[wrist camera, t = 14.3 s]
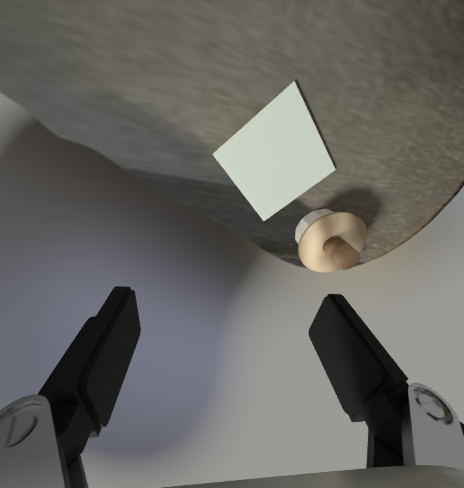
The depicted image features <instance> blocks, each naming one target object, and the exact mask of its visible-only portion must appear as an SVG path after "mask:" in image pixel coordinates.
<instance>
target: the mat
mask: <svg viewBox="0 0 464 488" xmlns="http://www.w3.org/2000/svg"><path fill="white" fill-rule="evenodd" d="M213 156H214V157H215V158H216V159H217V161H218V162H219V163H220V165H221V166H222V167H223V169H224V170H225V171H226V172H227V174H228V175H229V176H230V178H231V179H232V180H233V182H234V183H235V184H236V186H237V187H238V188H239V189H240V191H241V192H242V193H243V195H244V196H245V197H246V199H247V200H248V201H249V203H250V204H251V205H252V206H253V208H254V209H255V210H256V212H257V213H258V214H259V216H260V217H261V218H262V220H263V221H265V220H266V219H268V218H269V217H271V216H272V215H273V214H275V213H276V212H277V211H279V210H280V209H282V208H283V207H284V206H286V205H287V204H289V203H290V202H291V201H293V200H294V199H296V198H297V197H298V196H300V195H301V194H303V193H304V192H305V191H307V190H308V189H309V188H311V187H312V186H314V185H315V184H316V183H318V182H319V181H321V180H322V179H323V178H325V177H326V176H328V175H329V174H330V173H332V172H333V171H335V167H334V165H333V163H332V161H331V159H330V157H329V154H328V152H327V150H326V148H325V146H324V144H323V142H322V139H321V137H320V135H319V133H318V131H317V129H316V126H315V124H314V122H313V120H312V118H311V116H310V114H309V111H308V109H307V107H306V105H305V103H304V101H303V98H302V96H301V94H300V92H299V90H298V88H297V86H296V83H295V81H294V82H292V83H291V84H290V85H289V86H288V87H287V88H286V89H285V90H284V91H282V92H281V93H280V94H279V95H278V96H277V97H276V98H275V99H273V100H272V101H271V102H270V103H269V104H268V105H267V106H266V107H264V108H263V109H262V110H261V111H260V112H259V113H258V114H257V115H256V116H254V117H253V118H252V119H251V120H250V121H249V122H248V123H247V124H245V125H244V126H243V127H242V128H241V129H240V130H239V131H238V132H237V133H235V134H234V135H233V136H232V137H231V138H230V139H229V140H228V141H226V142H225V143H224V144H223V145H222V146H221V147H220V148H219V149H218V150H216V151H215V152H214V153H213Z"/></svg>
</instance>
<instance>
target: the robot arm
mask: <svg viewBox="0 0 464 488" xmlns="http://www.w3.org/2000/svg"><path fill="white" fill-rule="evenodd" d="M140 331H141V328H140V322H139V315H138V309H137V303H136V296H135V291H134V290H131V288H130V287H121V286H116V287H114V289H113V290H112V292H111V293H110V295H109V296H108V298H107V300H106V301H105V303H104V304H103V306H102V307H101V309H100V311H99V312H98V314H97V315H96V316H95V317H91V318H89V319H88V320H87V321H86V322H85V324H84V326H83V327H82V329H81V330H80V331H79V333H78V335H77V336H76V337H75V339H74V341H73V342H72V343H71V345H70V346H69V348H68V349H67V351H66V353H65V354H64V355H63V357H62V358H61V360H60V361H59V363H58V364H57V366H56V367H55V369H54V370H53V372H52V373H51V375H50V376H49V378H48V379H47V381H46V382H45V384H44V386H43V387H42V388H41V390H40V391H39V393H38V394H37V395H30V396H26V397H22V398H20V399H18V400H16V401H14V402H12V403H10V404H9V405H7V406H6V407H4V408H3V409H1V410H0V488H88V483H87V479H86V475H85V471H84V467H83V463H82V459H81V455H80V454H81V453H82V452H83V450H84V447H85V445H86V442H87V440H88V438H90V437H98V436H99V433H100V431H101V428H102V427H106V426H107V424H108V422H109V420H110V417H111V414H112V411H113V408H114V406H115V403H116V400H117V397H118V395H119V391H120V389H121V386H122V384H123V381H124V378H125V375H126V372H127V370H128V367H129V364H130V361H131V359H132V355H133V353H134V350H135V347H136V344H137V342H138V339H139V336H140ZM309 337H310V339H311V341H312V344H313V346H314V348H315V350H316V352H317V354H318V356H319V358H320V361H321V363H322V365H323V367H324V369H325V371H326V374H327V376H328V377H329V380H330V382H331V384H332V386H333V389H334V391H335V393H336V395H337V397H338V399H339V401H340V404H341V406H342V408H343V410H344V411H345V412H346V413H347V414H348V415H349V417H350V419H351V421H352V422H362V421H364V420H365V422H366V424H367V426H368V446H367V464H366V469H355V470H344V471H333V472H321V473H310V474H300V475H289V476H277V477H267V478H257V479H246V480H235V481H225V482H215V483H204V484H194V485H184V486H174V487H164V488H464V424H463V423H461V422H460V421H459V419H458V417H457V415H456V413H455V411H454V410H453V408H452V407H451V406H450V404H449V403H448V402H447V401H446V400H445V399H444V398H443V397H442V396H440V395H439V394H438V393H437V392H436V391H434V390H432V389H431V388H429V387H427V386H425V385H423V384H420V383H412V384H410V385H408V384H407V382H406V381H407V380H408V378H407V377H406V375H405V374H404V373H403V371H402V370H401V369H400V368H399V366H398V365H397V364H396V363H395V361H394V360H393V359H392V358H391V356H390V355H389V354H388V352H387V351H386V350H385V349H384V347H383V346H382V345H381V344H380V342H379V341H378V340H377V338H376V337H375V336H374V335H373V334H372V332H371V331H370V329H369V328H368V327H367V326H366V324H365V323H364V322H363V321H362V319H361V318H360V317H359V315H358V314H357V313H356V312H355V310H354V309H353V308H352V307H351V306H350V304H349V303H348V302H347V300H346V299H345V298H344V296H342V295H341V294H328V295H327V297H325V298H324V300H323V302H322V304H321V306H320V308H319V310H318V312H317V314H316V316H315V318H314V321H313V323H312V325H311V327H310V329H309Z"/></svg>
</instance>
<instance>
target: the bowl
mask: <svg viewBox="0 0 464 488" xmlns="http://www.w3.org/2000/svg"><path fill="white" fill-rule="evenodd" d="M333 212H334V211H332V210H329V209H319V210H314V211H312V212H311V213H309V214H308V215H306V216H305V217H303V218H302V220H301V221H300V223H299V224H298V226H297V228H296V237H295V240H296V241H297V243H298V244H299V241H300V238H301V236H302V234H303V233H304V231H305V230H306V229H307V228H308V226H309V225H311V224H312V223H313V222H314V221H315V220H317V219H318V218H320V217H322V216H324V215H327V214H329V213H333Z"/></svg>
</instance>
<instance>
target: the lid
mask: <svg viewBox="0 0 464 488" xmlns="http://www.w3.org/2000/svg"><path fill="white" fill-rule="evenodd" d="M366 239H367V228H366V226H365V224H364V222H363V221H362V220H361V219H360V218H359V217H357V216H355V215H354V214H351V213H348V212H333V213H329V214H327V215H324V216H322V217H320V218H318V219H317V220H315V221H314V222H313V223H312V224H311V225H309V226H308V228H307V229H306V230H305V231H304V233H303V234H302V236H301V238H300V241H299V245H298V254H299V257H300V259H301V261H302V262H303V264H304V265H305V266H306V267H307V268H309V269H310V270H313V271H316V272H330V271H335V270H338V269H343V270H346V269H350V268H352V267H354V266H355V265H356V264H357V263H358V262H359V260H360V252H361V251H362V249H363V247H364V245H365V243H366Z"/></svg>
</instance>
